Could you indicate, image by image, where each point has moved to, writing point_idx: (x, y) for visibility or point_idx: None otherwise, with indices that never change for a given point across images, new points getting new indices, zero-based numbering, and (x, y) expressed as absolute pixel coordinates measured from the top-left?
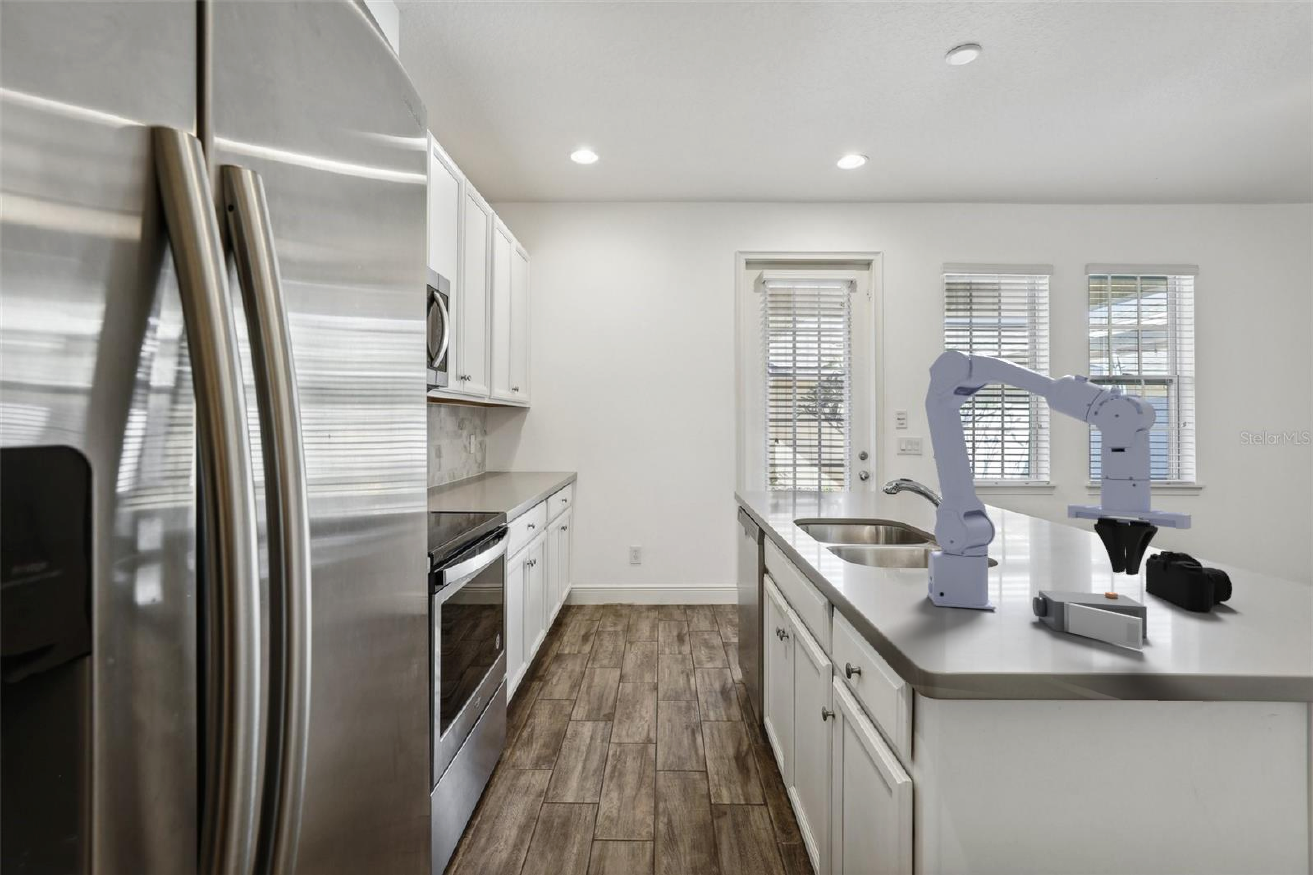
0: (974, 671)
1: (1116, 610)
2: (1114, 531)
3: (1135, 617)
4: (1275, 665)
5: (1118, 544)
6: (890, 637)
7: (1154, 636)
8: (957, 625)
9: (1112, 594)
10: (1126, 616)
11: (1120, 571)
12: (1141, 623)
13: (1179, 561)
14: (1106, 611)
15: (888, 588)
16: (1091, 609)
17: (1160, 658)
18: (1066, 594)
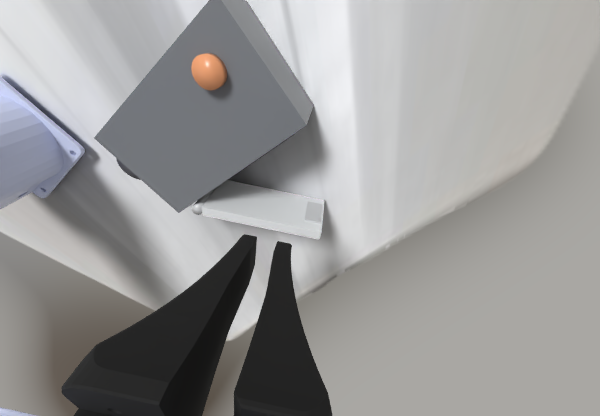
0: (240, 332)
1: (260, 157)
2: (199, 407)
3: (311, 233)
4: (515, 126)
5: (221, 335)
6: (147, 306)
7: (323, 80)
8: (133, 241)
9: (215, 87)
10: (299, 235)
11: (254, 257)
12: (321, 227)
13: None
14: (265, 224)
15: None
16: (242, 223)
17: (349, 213)
18: (145, 133)
